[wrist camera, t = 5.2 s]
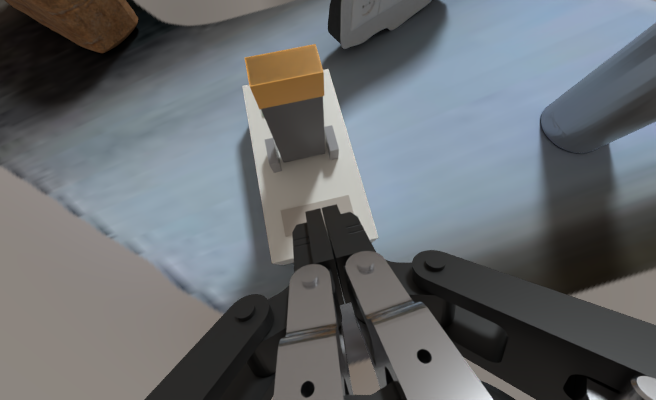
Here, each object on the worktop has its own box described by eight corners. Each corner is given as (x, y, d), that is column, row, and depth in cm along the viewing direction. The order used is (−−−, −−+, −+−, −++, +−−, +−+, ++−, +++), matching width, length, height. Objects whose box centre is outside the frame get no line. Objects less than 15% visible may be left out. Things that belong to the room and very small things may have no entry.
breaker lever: (321, 139, 31) (315, 44, 18) (326, 157, 30) (323, 72, 17) (280, 148, 30) (244, 57, 18) (284, 167, 29) (249, 86, 17)
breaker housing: (328, 98, 40) (328, 53, 32) (370, 244, 33) (383, 234, 25) (255, 113, 39) (235, 71, 31) (282, 265, 32) (266, 262, 24)
